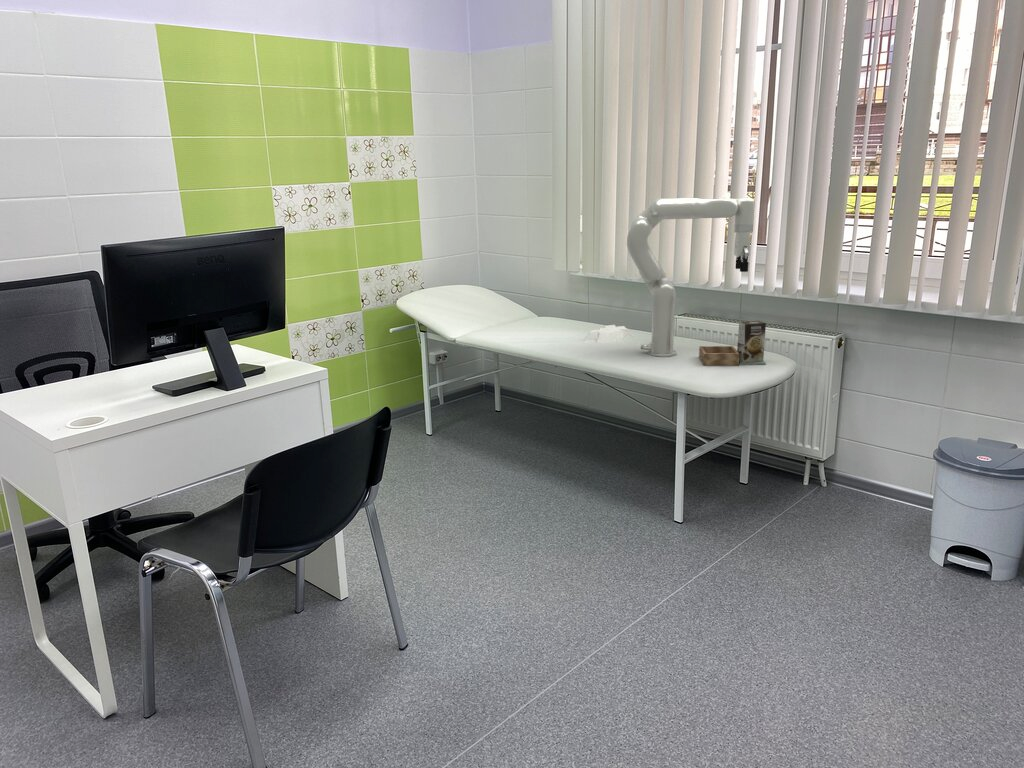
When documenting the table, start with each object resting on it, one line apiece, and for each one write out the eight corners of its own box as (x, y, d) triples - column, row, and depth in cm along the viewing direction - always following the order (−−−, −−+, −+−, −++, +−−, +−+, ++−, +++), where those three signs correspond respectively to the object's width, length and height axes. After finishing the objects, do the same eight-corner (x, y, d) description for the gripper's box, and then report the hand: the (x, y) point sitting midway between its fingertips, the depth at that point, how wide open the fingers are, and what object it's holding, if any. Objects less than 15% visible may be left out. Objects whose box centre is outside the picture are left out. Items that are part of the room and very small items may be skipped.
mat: (740, 364, 309) (740, 363, 309) (735, 358, 319) (736, 357, 319) (765, 364, 308) (765, 363, 308) (760, 358, 318) (760, 357, 318)
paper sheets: (607, 350, 345) (607, 338, 343) (571, 344, 357) (571, 333, 355) (646, 336, 370) (646, 325, 369) (611, 332, 383) (611, 321, 381)
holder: (703, 365, 310) (704, 353, 308) (698, 357, 323) (699, 346, 322) (738, 365, 308) (739, 353, 307) (732, 357, 322) (733, 346, 320)
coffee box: (744, 362, 310) (746, 324, 305) (736, 359, 316) (738, 321, 311) (764, 361, 312) (766, 322, 307) (755, 357, 318) (758, 319, 313)
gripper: (730, 227, 321) (728, 267, 326) (738, 230, 305) (736, 273, 309) (748, 227, 321) (746, 267, 325) (757, 230, 304) (755, 272, 309)
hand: (741, 270), depth 317 cm, fingers open, 9 cm apart
